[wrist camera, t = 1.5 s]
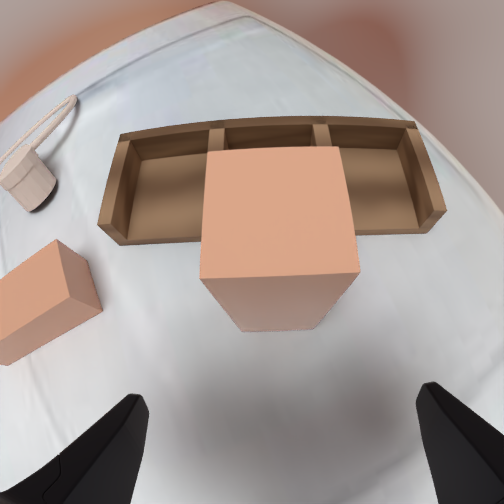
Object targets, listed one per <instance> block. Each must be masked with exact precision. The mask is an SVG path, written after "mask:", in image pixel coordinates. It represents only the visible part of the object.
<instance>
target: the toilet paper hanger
mask: <svg viewBox="0 0 504 504" xmlns="http://www.w3.org/2000/svg"><path fill="white" fill-rule="evenodd" d="M68 102H69V103H68ZM76 102H77V97H76V95H71V96H69V97H68V98H66V99H65V100H64V101H62V102H61V103H60V104H59V105H57V106H56V107H55V108H54V109H53V110H51V111H50V112H49V113H48V114H47V115H45V116H44V117H43V118H42V119H41V120H40V121H39V122H37V123H36V124H35V125H34V126H33V127H32V128H31V129H30V130H29V131H27V132H26V133H25V134H24V135H23V136H22V137H21V138H20V139H19V140H18V141H17V142H16V143H15V144H14V145H13V146H12V147H11V148H10V149H9V150H8V151H7V152H6V153H5V154H4V155H3V156H2V157H1V158H0V164H1V163H2V162H3V161H4V160H5V159H6V158H7V157H8V156H9V155H10V154H11V153H12V152H13V151H14V150H15V149H16V148H17V147H18V146H19V145H20V144H21V143H22V142H23V141H24V140H25V139H26V138H27V137H28V136H29V135H30V134H31V133H32V132H34V131H35V130H36V129H37V128H38V127H39V126H40V125H41V124H43V123H44V122H45V121H46V120H47V119H48V118H50V117H51V116H52V115H53V114H54V113H56V112H57V111H58V110H59V109H60V108H62V107H63V106H64V105H65V104H67V103H68V104H67V106H66V107H65V108H64V109H63V111H62V112H61V113H60V114H59V115H58V116H57V117H56V118H55V119H54V120H53V121H52V122H51V123H50V124H49V125H48V127H47V128H46V129H45V130H44V131H43V132H42V133H41V134H40V135H39V136H38V137H37V138H36V139H35V140H34V141H33V142H32V143H31V144H30V145H27V144H25V145H23V146H22V147H21V148H19V149H18V150H17V151H16V152H15V153H14V154H13V155H12V156H11V158H10V159H9V160H8V161H7V163H6V164H5V166H4V168H3V170H2V172H1V174H0V185H1V186H2V187H3V188H4V189H5V190H6V191H8V192H9V193H10V194H11V195H12V196H13V197H14V198H15V199H16V200H17V202H18V203H19V204H20V205H21V206H22V207H23V208H24V209H25V210H26V211H27V212H28V211H32V210H33V209H35V208H36V207H38V206H39V205H40V204H41V203H42V202H43V201H44V200H45V199H46V198H47V196H48V195H49V194H50V192H51V191H52V190H53V188H54V186H55V184H56V178H55V177H54V176H53V175H52V173H51V172H50V171H49V170H48V169H47V167H46V166H45V165H44V164H43V162H42V161H41V160H40V159H39V157H38V154H37V153H36V152H35V149H36V148H37V147H38V146H39V145H40V144H41V143H42V142H43V141H44V140H45V139H46V138H47V137H48V136H49V135H50V134H51V133H52V132H53V131H54V130H55V129H56V127H57V126H58V125H59V124H60V123H61V122H62V121H63V120H64V119H65V117H66V116H67V115H68V114H69V113H70V111H71V110H72V109H73V107H74V106H75V104H76Z"/></svg>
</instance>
